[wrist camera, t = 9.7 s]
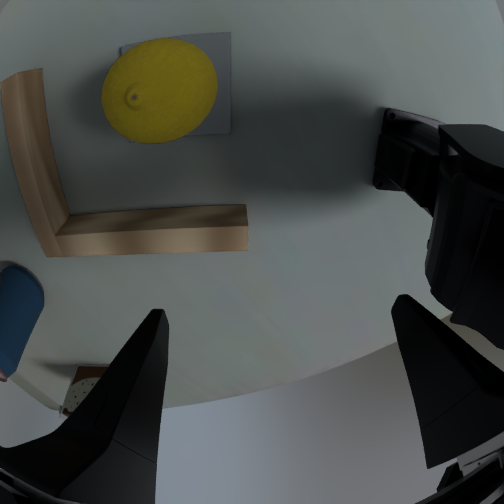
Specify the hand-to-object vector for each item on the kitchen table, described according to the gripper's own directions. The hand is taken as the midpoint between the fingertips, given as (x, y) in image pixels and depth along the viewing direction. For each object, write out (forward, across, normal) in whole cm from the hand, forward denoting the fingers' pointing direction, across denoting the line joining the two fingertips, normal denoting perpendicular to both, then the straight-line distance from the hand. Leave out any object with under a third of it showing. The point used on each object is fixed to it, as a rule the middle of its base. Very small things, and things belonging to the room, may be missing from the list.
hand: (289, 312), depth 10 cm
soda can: (+12, +27, +10) cm, 31 cm away
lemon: (+12, +5, -7) cm, 15 cm away
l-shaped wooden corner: (+12, +9, -3) cm, 15 cm away
